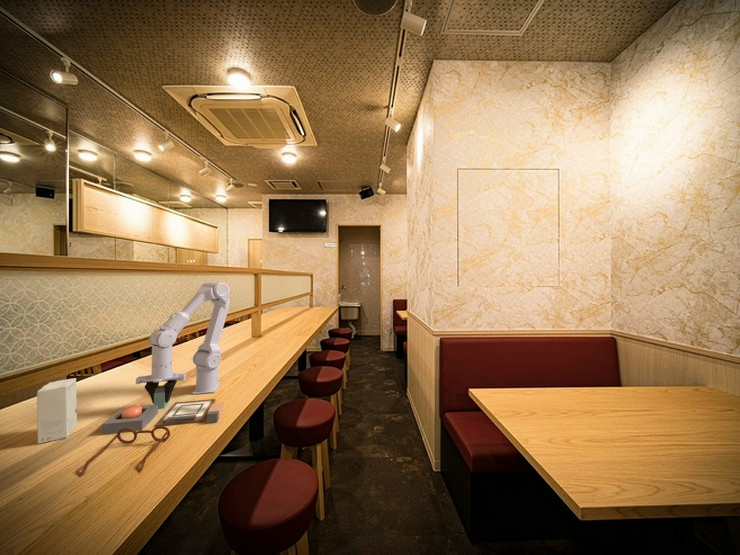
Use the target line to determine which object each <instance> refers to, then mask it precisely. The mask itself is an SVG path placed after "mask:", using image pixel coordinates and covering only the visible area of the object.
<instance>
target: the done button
mask: <svg viewBox="0 0 740 555" xmlns="http://www.w3.org/2000/svg"><path fill="white" fill-rule="evenodd" d="M142 406H143V405H141V404H135V405H129V406H127V407H126V408H125V407H123V408H124V409H123V410H122V419H128V418H138V417H139V416H140V415H141V414H142Z"/></svg>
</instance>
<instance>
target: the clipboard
mask: <svg viewBox="0 0 740 555" xmlns="http://www.w3.org/2000/svg"><path fill="white" fill-rule="evenodd" d="M215 402H216V398H210V399H201V400H199V399H198V400H188V401H177V402H176V401H175V402H174V403H173V405H172V406H171V407H170V408H169V409H168V410H167V412H165V413H164V415H163V416H162V417H161V418H160V419H159V420H158V422H157V423H156V424H155V427H158V426H164V427H168V426H177V425H186V424H194V423H195V424H196V423H203V422H204V421H205V419H206V418H207V414H208V411H209V409H210V408H211V406H212V404H215ZM155 427H154V428H155Z"/></svg>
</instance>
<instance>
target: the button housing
mask: <svg viewBox="0 0 740 555" xmlns="http://www.w3.org/2000/svg"><path fill="white" fill-rule="evenodd" d="M141 406H142V414H141V415H140V416H139V417H138V418H128V419H122V410H123V409H124V408H126V407H121V408H120V409H119V410H118V411H117V412H115V413H114V414H113V415H111V416H110V417H109V418H107V419H106V420H105V421H104V422H102V424H101V435H107V434H109V435H110V434H118V432H119V431H120V430H121V429H123V428H132V429H134V430H136V432H137V430H138V431H140V430H142V429H143V430H145V428H146V427H147V426H148V425H149V423H150V422H151V421H152V420H154V418H156V416H157V415H158V414H159V409H158V405H154V404H149V405H141ZM126 432H127V433H128V432H129V431H122V432H121V433H126Z"/></svg>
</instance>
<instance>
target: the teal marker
mask: <svg viewBox="0 0 740 555" xmlns="http://www.w3.org/2000/svg"><path fill="white" fill-rule="evenodd" d="M169 402H170V400H169V401H168V402H166V403H165V388H164V384H163V385H159V386H158V387H157V388H156V389H155V393H154V404H153V405H158V410H160V409H161V410H163V409H165V408H166V407H167V406H168V405H169V404H170V403H169Z"/></svg>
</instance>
